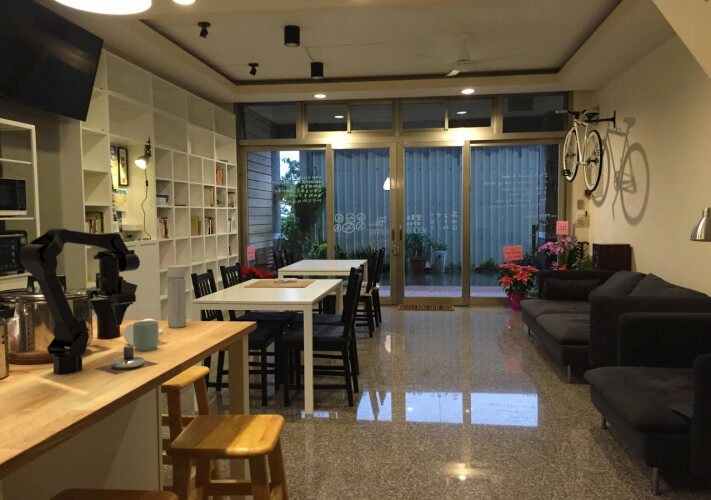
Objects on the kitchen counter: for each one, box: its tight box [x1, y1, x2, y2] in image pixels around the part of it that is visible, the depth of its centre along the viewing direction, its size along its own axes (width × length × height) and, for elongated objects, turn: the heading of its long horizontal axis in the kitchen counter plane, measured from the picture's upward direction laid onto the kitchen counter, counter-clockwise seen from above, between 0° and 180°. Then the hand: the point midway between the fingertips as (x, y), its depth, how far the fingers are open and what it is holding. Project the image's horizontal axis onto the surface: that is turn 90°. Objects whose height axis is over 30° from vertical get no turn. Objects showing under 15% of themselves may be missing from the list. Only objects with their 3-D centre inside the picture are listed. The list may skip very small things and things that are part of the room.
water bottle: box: [165, 265, 187, 329], centre depth 230 cm, size 9×8×25 cm
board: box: [93, 359, 159, 375], centre depth 165 cm, size 14×11×1 cm
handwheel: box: [110, 345, 145, 369], centre depth 164 cm, size 9×9×4 cm
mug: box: [123, 318, 164, 347], centre depth 201 cm, size 12×10×8 cm
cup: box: [132, 320, 159, 352], centre depth 187 cm, size 8×8×10 cm
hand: (110, 323), depth 174 cm, fingers open, 9 cm apart
